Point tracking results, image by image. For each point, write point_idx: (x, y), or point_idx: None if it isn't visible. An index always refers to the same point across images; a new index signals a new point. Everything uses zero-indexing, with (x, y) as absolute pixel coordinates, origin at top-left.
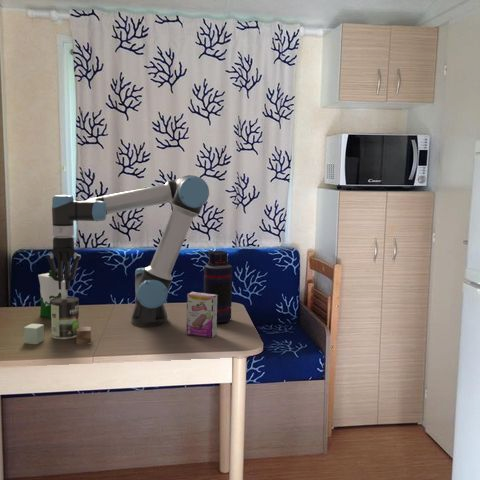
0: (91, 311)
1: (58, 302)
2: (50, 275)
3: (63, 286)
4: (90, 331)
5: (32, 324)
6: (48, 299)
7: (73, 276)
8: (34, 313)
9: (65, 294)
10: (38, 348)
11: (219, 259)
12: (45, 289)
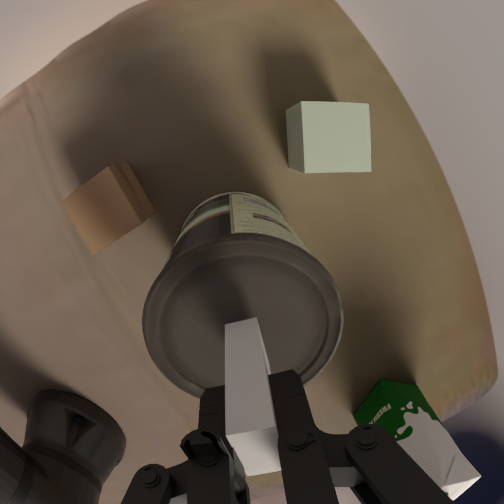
0: None
1: (249, 260)
2: None
3: (242, 393)
4: (63, 201)
5: (358, 158)
6: (411, 422)
7: (123, 500)
8: (435, 389)
9: (227, 350)
10: (249, 68)
11: None
12: (436, 444)
